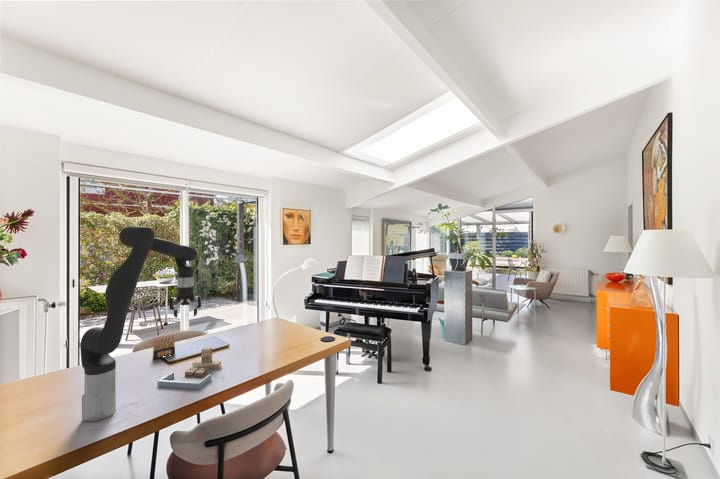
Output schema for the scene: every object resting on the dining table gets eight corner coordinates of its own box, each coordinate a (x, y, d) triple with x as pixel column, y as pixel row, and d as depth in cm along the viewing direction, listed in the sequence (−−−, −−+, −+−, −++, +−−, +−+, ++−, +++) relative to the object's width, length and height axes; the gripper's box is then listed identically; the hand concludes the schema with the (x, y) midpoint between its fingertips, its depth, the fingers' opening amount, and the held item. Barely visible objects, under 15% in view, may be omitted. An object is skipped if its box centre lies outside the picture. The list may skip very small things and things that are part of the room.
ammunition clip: (153, 360, 170) (153, 338, 170) (152, 359, 171) (152, 337, 171) (175, 355, 178) (175, 334, 178) (174, 354, 179) (174, 333, 179)
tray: (198, 389, 140) (199, 383, 140) (157, 386, 142) (157, 380, 142) (211, 379, 149) (211, 374, 149) (172, 376, 151) (172, 371, 151)
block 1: (192, 377, 152) (192, 372, 152) (184, 376, 152) (184, 371, 152) (198, 372, 157) (198, 367, 157) (191, 372, 157) (191, 367, 157)
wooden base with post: (218, 369, 160) (218, 350, 160) (192, 368, 162) (192, 348, 162) (221, 367, 163) (221, 348, 163) (196, 365, 165) (196, 346, 165)
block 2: (202, 378, 151) (202, 372, 151) (194, 377, 152) (194, 372, 152) (208, 373, 156) (208, 368, 156) (200, 372, 157) (200, 367, 157)
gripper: (168, 287, 157) (168, 319, 157) (200, 286, 162) (200, 317, 163) (171, 285, 164) (171, 315, 164) (201, 283, 169) (201, 313, 170)
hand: (185, 316), depth 164 cm, fingers open, 8 cm apart
